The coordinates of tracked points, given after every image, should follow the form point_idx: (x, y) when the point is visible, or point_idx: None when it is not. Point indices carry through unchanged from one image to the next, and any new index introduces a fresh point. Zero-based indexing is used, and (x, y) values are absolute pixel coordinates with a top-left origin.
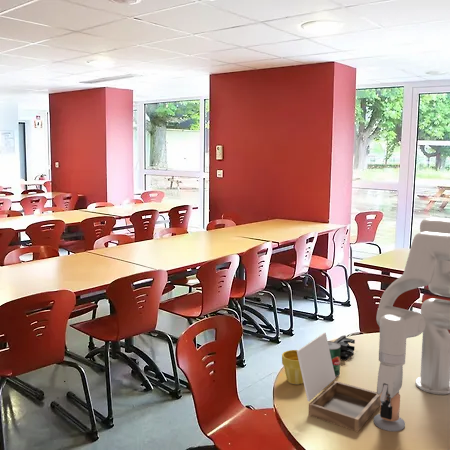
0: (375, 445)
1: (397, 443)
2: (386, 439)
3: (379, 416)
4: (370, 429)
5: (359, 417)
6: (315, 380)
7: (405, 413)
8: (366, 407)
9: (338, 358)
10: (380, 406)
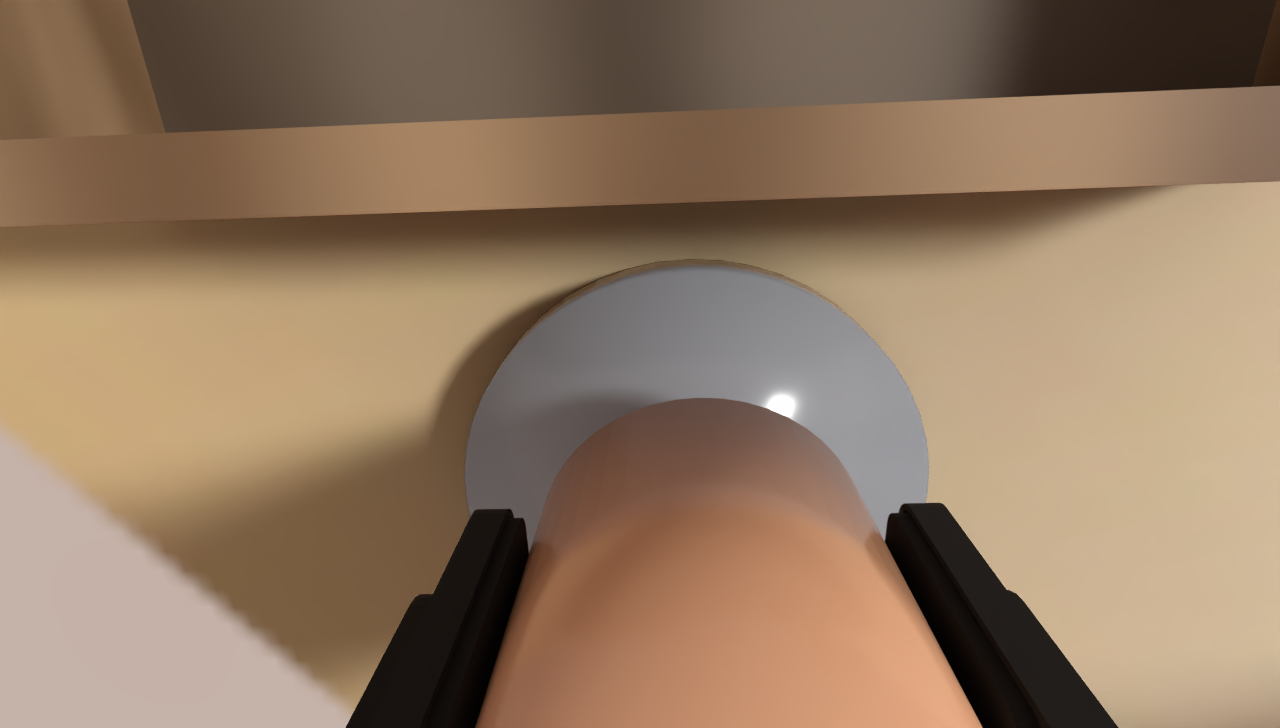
0: (91, 501)
1: (335, 661)
2: (314, 555)
3: (743, 337)
4: (374, 318)
5: (3, 215)
6: None
7: (1125, 549)
8: (560, 155)
9: None
10: (580, 548)
